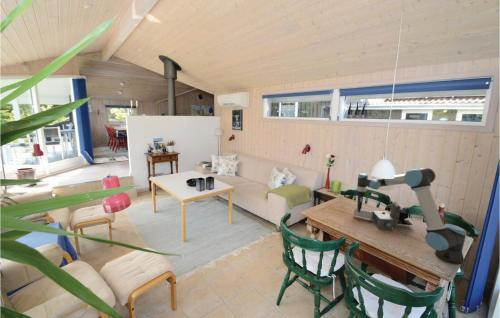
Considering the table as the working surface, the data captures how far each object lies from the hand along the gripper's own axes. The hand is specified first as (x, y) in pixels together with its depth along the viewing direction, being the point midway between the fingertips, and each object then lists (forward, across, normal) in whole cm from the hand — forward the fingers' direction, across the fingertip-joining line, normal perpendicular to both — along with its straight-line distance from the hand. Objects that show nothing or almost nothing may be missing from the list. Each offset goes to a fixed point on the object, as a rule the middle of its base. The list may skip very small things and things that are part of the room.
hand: (358, 214), depth 218 cm
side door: (+3, +2, -4) cm, 6 cm away
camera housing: (+4, -7, -19) cm, 20 cm away
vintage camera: (+4, -2, -34) cm, 34 cm away
